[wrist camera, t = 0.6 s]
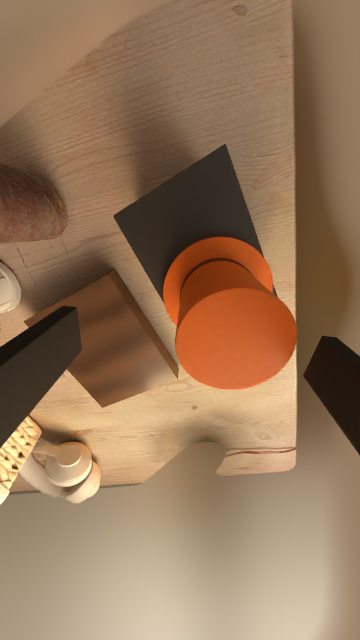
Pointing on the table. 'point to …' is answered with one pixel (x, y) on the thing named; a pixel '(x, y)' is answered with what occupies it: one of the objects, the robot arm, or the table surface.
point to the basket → (16, 453)
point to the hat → (227, 314)
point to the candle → (29, 207)
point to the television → (187, 215)
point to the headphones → (63, 471)
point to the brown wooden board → (114, 343)
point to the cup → (8, 290)
